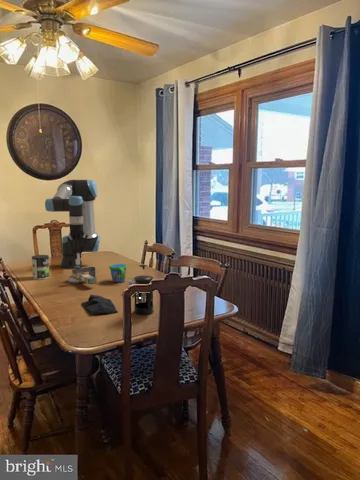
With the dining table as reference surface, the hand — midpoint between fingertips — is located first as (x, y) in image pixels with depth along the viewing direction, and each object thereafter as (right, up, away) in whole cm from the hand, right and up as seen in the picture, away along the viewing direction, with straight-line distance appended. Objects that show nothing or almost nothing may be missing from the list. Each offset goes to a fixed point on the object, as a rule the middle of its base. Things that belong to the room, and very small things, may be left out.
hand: (77, 264), depth 216 cm
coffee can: (-31, -11, +27) cm, 42 cm away
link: (+1, -10, +11) cm, 15 cm away
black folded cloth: (+19, -20, -31) cm, 41 cm away
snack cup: (+20, -12, +19) cm, 30 cm away
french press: (+42, -21, -37) cm, 60 cm away
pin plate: (-5, -12, +19) cm, 23 cm away
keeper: (0, -12, +14) cm, 19 cm away
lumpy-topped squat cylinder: (+36, -16, -5) cm, 40 cm away
